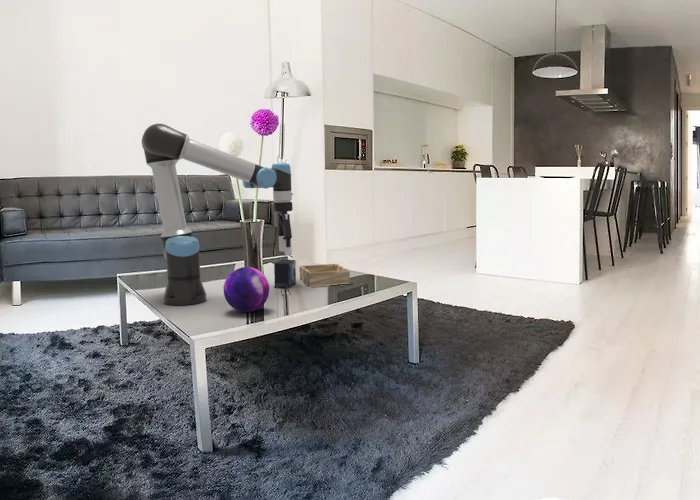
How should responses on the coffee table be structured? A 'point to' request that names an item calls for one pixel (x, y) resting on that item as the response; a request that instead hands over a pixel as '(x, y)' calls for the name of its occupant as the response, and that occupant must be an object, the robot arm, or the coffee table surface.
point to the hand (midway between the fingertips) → (285, 253)
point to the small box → (285, 273)
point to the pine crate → (324, 275)
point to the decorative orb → (246, 289)
